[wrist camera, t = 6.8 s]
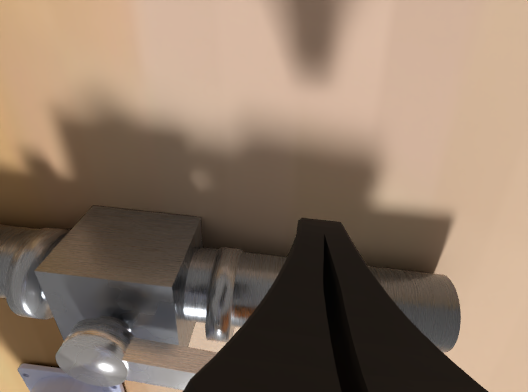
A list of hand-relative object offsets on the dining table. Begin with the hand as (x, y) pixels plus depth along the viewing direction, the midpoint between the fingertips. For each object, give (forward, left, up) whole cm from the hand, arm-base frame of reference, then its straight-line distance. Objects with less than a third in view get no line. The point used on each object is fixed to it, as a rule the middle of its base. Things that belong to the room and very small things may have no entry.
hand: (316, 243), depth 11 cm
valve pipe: (-6, +8, -5) cm, 11 cm away
